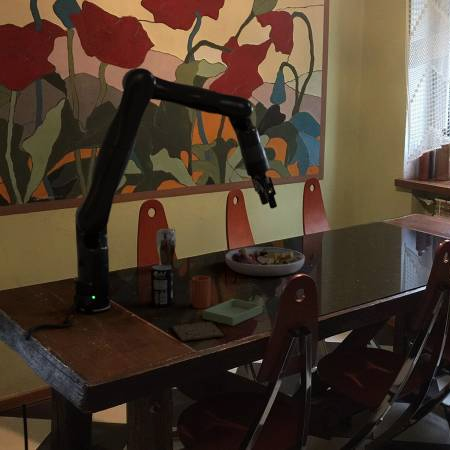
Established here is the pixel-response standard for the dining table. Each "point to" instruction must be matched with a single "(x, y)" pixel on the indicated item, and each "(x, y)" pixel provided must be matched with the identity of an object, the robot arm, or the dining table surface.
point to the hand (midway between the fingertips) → (269, 205)
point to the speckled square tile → (197, 331)
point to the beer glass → (166, 247)
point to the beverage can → (161, 285)
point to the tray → (232, 312)
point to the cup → (201, 291)
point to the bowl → (264, 261)
